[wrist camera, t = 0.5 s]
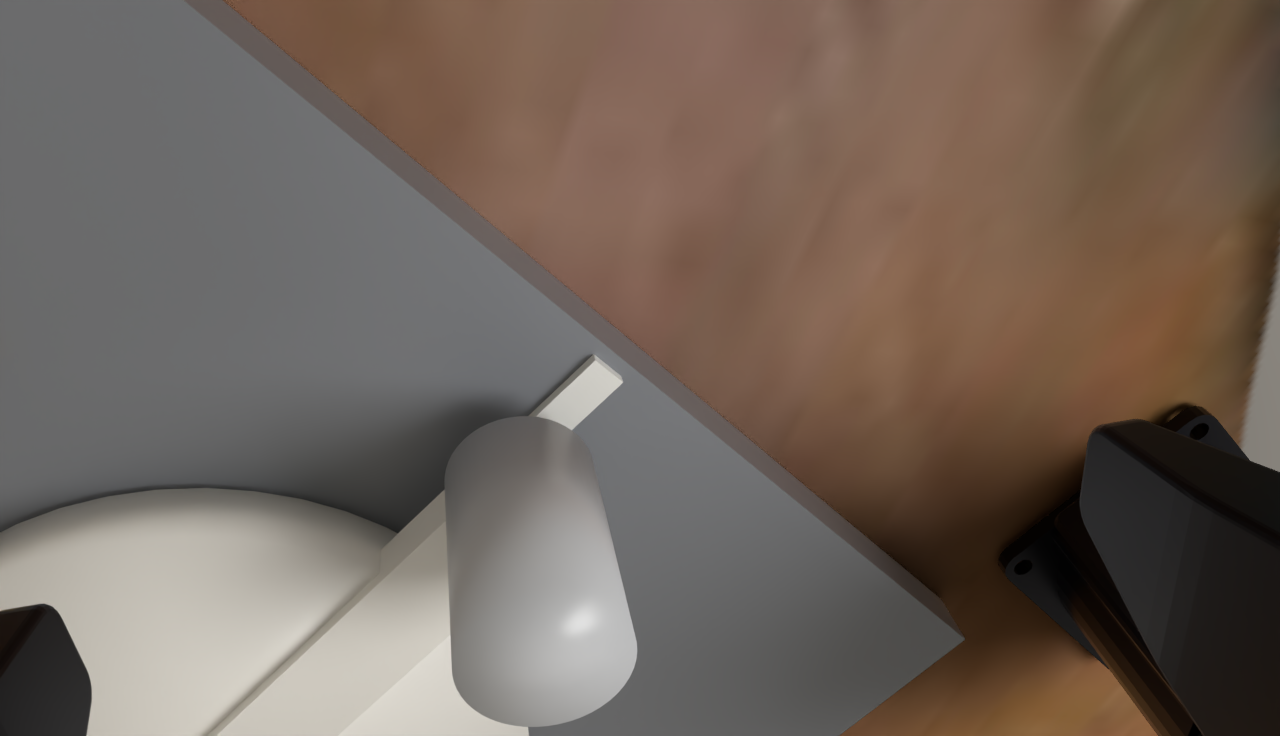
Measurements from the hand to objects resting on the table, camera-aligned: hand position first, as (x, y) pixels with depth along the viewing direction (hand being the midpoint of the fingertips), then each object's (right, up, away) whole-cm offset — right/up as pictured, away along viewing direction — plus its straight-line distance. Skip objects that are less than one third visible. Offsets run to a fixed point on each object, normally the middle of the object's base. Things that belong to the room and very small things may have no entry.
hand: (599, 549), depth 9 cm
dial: (-8, -5, +15) cm, 18 cm away
